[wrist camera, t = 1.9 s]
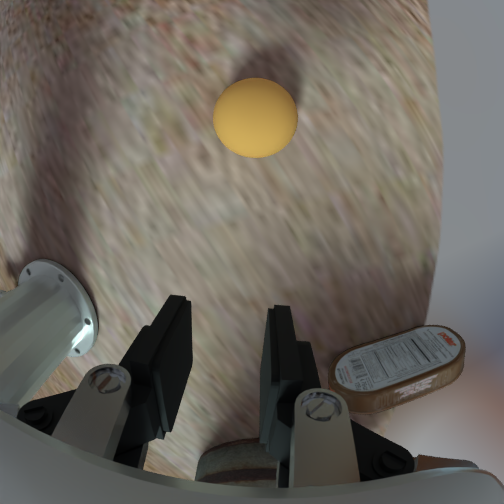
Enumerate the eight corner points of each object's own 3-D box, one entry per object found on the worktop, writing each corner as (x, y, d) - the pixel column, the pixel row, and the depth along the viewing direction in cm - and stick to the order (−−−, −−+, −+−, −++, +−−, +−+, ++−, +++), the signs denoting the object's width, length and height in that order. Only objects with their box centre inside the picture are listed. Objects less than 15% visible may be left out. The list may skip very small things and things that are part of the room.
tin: (322, 371, 29) (337, 429, 21) (319, 350, 28) (335, 408, 20) (440, 333, 27) (476, 375, 19) (443, 311, 27) (482, 352, 19)
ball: (216, 156, 23) (202, 153, 17) (222, 87, 21) (210, 65, 15) (289, 162, 23) (299, 161, 17) (295, 93, 21) (306, 71, 15)
